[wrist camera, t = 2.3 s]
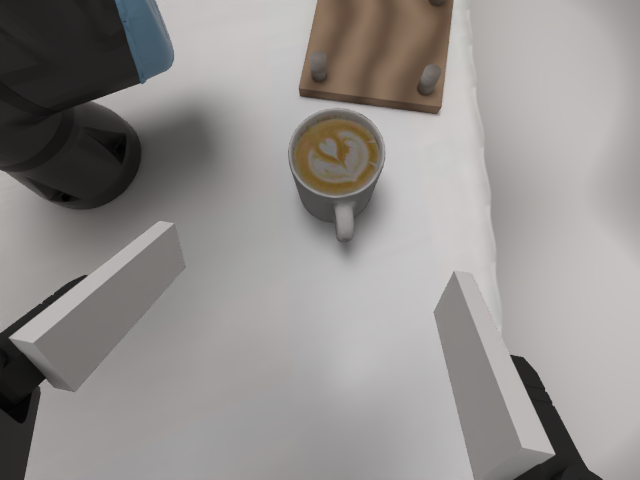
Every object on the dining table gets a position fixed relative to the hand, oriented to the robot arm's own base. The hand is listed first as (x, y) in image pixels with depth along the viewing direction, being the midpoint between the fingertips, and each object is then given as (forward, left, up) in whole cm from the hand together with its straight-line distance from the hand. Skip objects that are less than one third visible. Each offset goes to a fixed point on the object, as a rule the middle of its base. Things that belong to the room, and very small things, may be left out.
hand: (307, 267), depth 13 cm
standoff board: (-19, +31, -23) cm, 43 cm away
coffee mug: (-7, +9, -23) cm, 25 cm away
